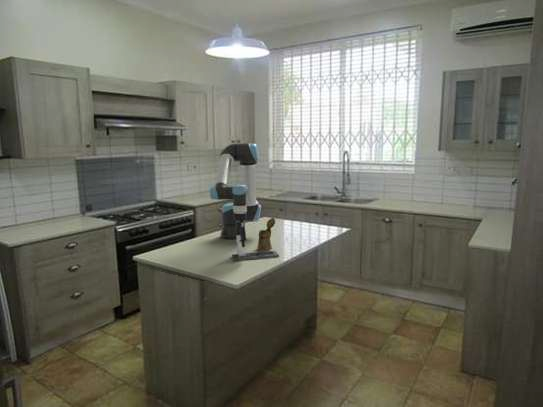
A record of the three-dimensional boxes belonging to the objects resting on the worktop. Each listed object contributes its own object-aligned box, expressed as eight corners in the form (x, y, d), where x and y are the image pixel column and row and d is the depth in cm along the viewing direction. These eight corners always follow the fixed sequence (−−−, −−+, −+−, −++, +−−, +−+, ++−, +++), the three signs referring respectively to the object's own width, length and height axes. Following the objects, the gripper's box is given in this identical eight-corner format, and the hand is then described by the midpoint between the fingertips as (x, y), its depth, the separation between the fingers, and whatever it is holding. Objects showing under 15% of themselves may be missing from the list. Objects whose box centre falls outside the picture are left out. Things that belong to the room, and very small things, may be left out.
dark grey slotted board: (231, 256, 226) (231, 254, 225) (274, 252, 232) (274, 250, 232) (234, 261, 217) (233, 259, 217) (278, 256, 223) (278, 254, 223)
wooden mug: (279, 246, 244) (279, 218, 242) (265, 251, 234) (264, 222, 232) (268, 244, 250) (268, 216, 247) (254, 248, 240) (253, 220, 237)
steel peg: (237, 256, 224) (236, 241, 222) (244, 256, 225) (243, 241, 223) (238, 258, 220) (238, 243, 219) (245, 258, 221) (245, 242, 220)
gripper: (230, 209, 229) (231, 244, 233) (237, 217, 205) (238, 255, 209) (242, 208, 231) (243, 243, 234) (251, 216, 207) (252, 254, 211)
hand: (241, 249), depth 222 cm, fingers open, 13 cm apart
